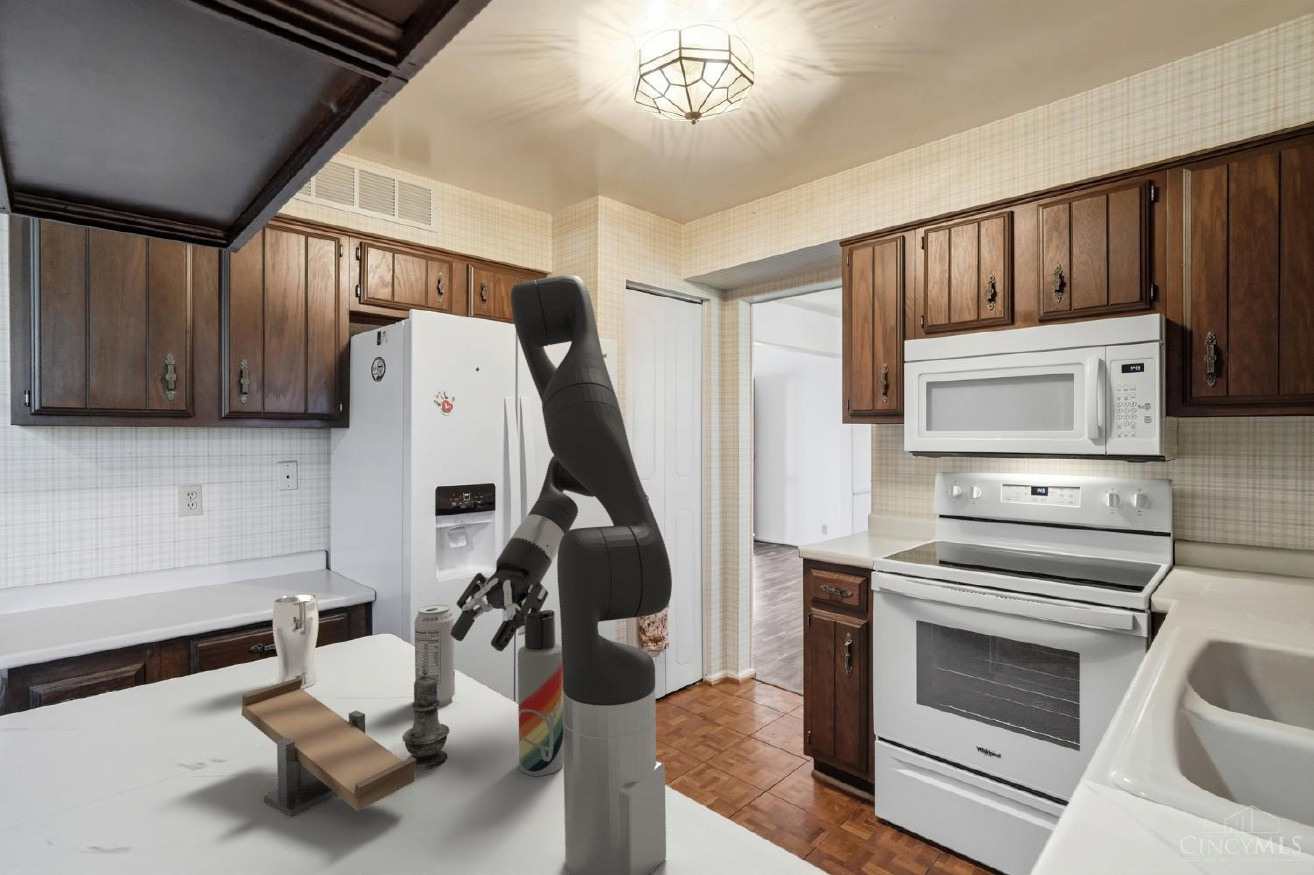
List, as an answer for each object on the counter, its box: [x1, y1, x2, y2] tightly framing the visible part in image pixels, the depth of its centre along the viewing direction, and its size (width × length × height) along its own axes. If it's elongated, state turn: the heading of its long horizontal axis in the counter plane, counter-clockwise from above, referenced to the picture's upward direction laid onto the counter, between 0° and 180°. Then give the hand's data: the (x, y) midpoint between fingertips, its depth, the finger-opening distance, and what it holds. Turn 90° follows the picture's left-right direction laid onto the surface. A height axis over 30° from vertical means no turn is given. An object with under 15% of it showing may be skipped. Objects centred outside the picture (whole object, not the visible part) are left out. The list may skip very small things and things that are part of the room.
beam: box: [241, 678, 417, 812], centre depth 79 cm, size 26×7×3 cm, turn 57°
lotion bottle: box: [517, 609, 564, 777], centre depth 83 cm, size 6×6×20 cm
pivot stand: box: [263, 710, 366, 818], centre depth 79 cm, size 6×11×7 cm, turn 147°
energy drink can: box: [414, 604, 456, 708], centre depth 104 cm, size 6×6×15 cm
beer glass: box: [272, 593, 320, 690], centre depth 113 cm, size 7×7×15 cm
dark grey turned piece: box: [401, 669, 451, 772], centre depth 85 cm, size 6×6×12 cm
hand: (475, 643), depth 92 cm, fingers open, 8 cm apart
